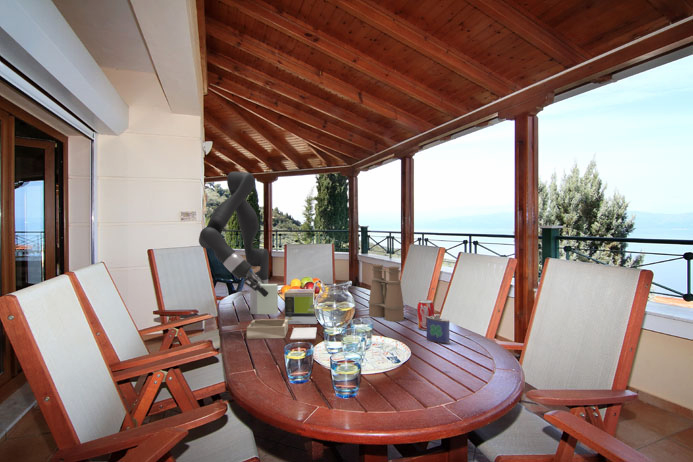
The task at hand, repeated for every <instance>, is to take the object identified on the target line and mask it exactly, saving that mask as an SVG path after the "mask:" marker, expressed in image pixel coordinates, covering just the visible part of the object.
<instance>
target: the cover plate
mask: <svg viewBox="0 0 693 462" xmlns="http://www.w3.org/2000/svg"><path fill="white" fill-rule="evenodd" d="M260 285H261V286H262V287H263V288H264V289H265V290H266V291H267V292H268V295H267V296H266V297H264V296H263V295H262V294H261V293H260V292H259V291H257V314H256V315H277V314H278V312H279V300H278V299H279V298H278V297H279V296H278V294H279V292H278V288H279V287H278V286H279V285H278V283H268V284H260Z"/></svg>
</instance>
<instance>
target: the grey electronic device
mask: <svg viewBox="0 0 693 462" xmlns="http://www.w3.org/2000/svg"><path fill="white" fill-rule="evenodd" d="M313 289H314V288H311V289H310V288H290V289H287V290H286V291H285V292H284V319H288V325H318V323H319V321H317V319H316V316H315V313H314V306H313Z"/></svg>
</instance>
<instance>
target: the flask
mask: <svg viewBox="0 0 693 462" xmlns="http://www.w3.org/2000/svg"><path fill="white" fill-rule="evenodd" d="M440 315H441V314H439V313H436V314H435V313H434V316H433V317H432V316H430V317H427V331H426V334H425V335H426V341H428V342H432V343H437V344H441V345H449V344H450V342H451V341H450V320H449V319H447V318H445V319H444V318H440Z"/></svg>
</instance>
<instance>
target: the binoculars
mask: <svg viewBox="0 0 693 462" xmlns="http://www.w3.org/2000/svg"><path fill="white" fill-rule="evenodd" d="M383 267H384V264H372V268H373V269H372V273H373V275H372V278H371V279H370V281H371V284H370V291H369V299H368V300H369V301H368V302H367V303H368V311H369V312H368V316H370V317H372V318H384V320H385V321H387V322H392V323H397V322H402V321H404V320H405V314H404V313H405V305H404V298H403V292H402V291H403V290H402V285H401V283H402V282H401V280H400V279H399V276H400V275H399V274H400V270H399V269H400V266H398V265H397V266H395V265H390V266H388V267H387V268H388V270H387V269H385V268H384V269H383ZM387 272H388V280H387V279H386V277H387Z"/></svg>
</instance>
